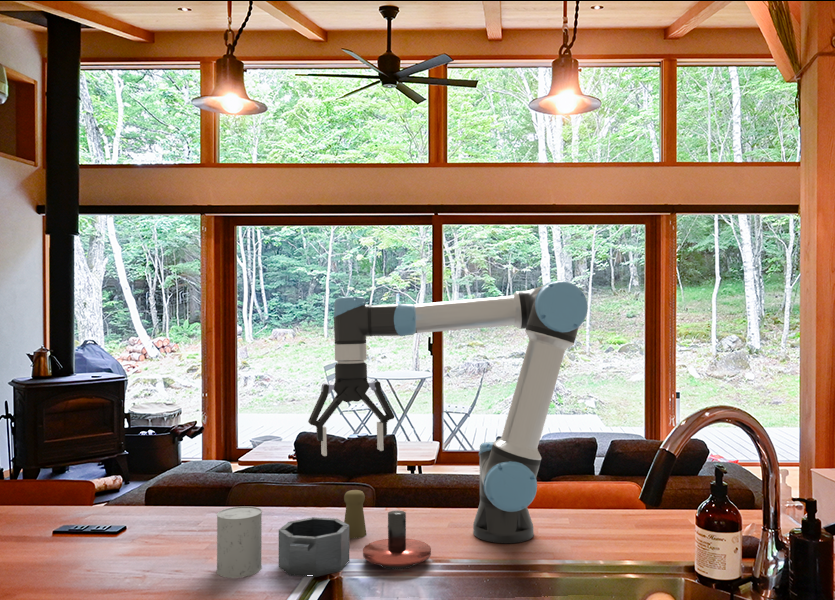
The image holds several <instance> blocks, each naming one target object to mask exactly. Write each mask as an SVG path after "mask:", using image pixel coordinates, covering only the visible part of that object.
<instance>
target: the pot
mask: <svg viewBox="0 0 835 600" xmlns="http://www.w3.org/2000/svg"><path fill="white" fill-rule="evenodd" d="M348 561H349V562H350V538H349V525H348V524H346V523H344V521H343V520H340V519H338V518H334V517H333V518H329V517H315V516H314V517H308V518H301V519H298V520H297V519H296V520H291V521H288V522H287V523H286V524H284V525H283V526H282V527H280V528H279V529H278V568H280V569H281V570H282V571H283V572H285V573H286V574H287V575H289V576H296V577H297V576H298V577H308V576H307V575H313V576H314V577H313V578H318V577H321V576H326V575H329V574H335V573H339V572H342V571H343V569H344V568H345V567H346V566H345V564H346V563H347V562H348ZM349 562H348V563H349ZM348 563H347V564H348Z"/></svg>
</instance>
